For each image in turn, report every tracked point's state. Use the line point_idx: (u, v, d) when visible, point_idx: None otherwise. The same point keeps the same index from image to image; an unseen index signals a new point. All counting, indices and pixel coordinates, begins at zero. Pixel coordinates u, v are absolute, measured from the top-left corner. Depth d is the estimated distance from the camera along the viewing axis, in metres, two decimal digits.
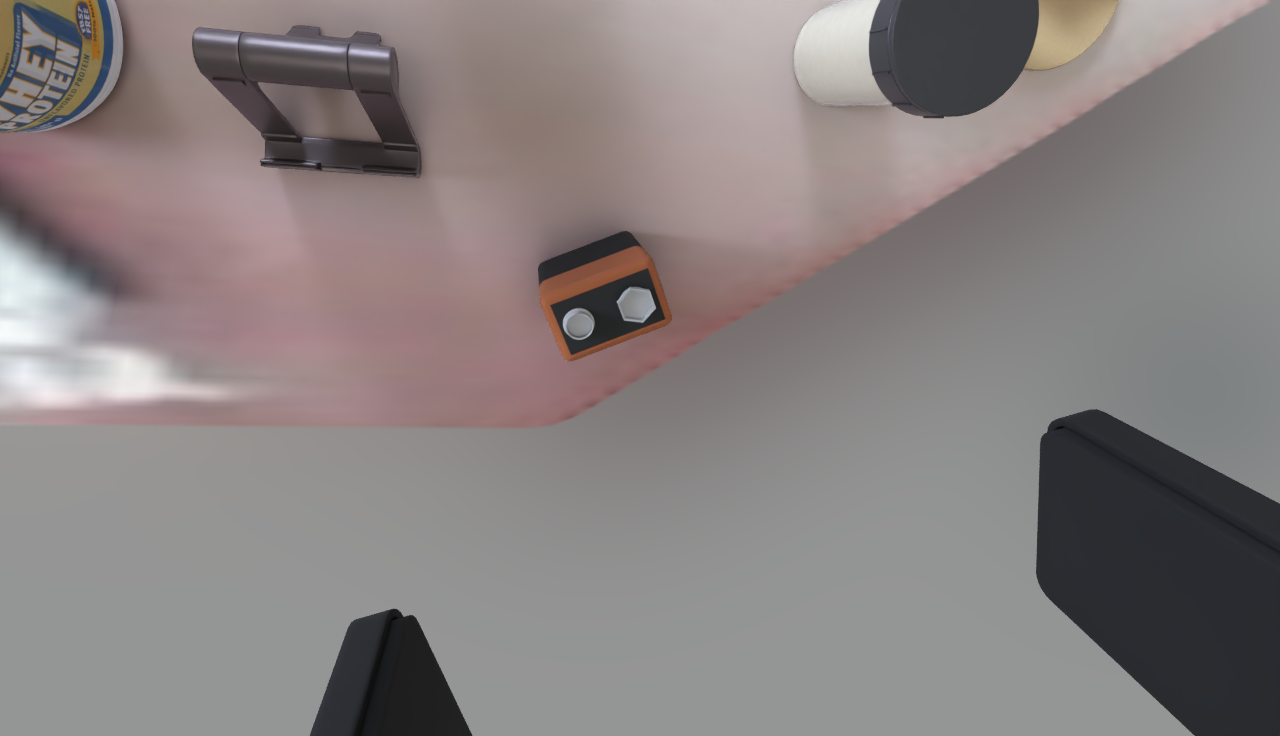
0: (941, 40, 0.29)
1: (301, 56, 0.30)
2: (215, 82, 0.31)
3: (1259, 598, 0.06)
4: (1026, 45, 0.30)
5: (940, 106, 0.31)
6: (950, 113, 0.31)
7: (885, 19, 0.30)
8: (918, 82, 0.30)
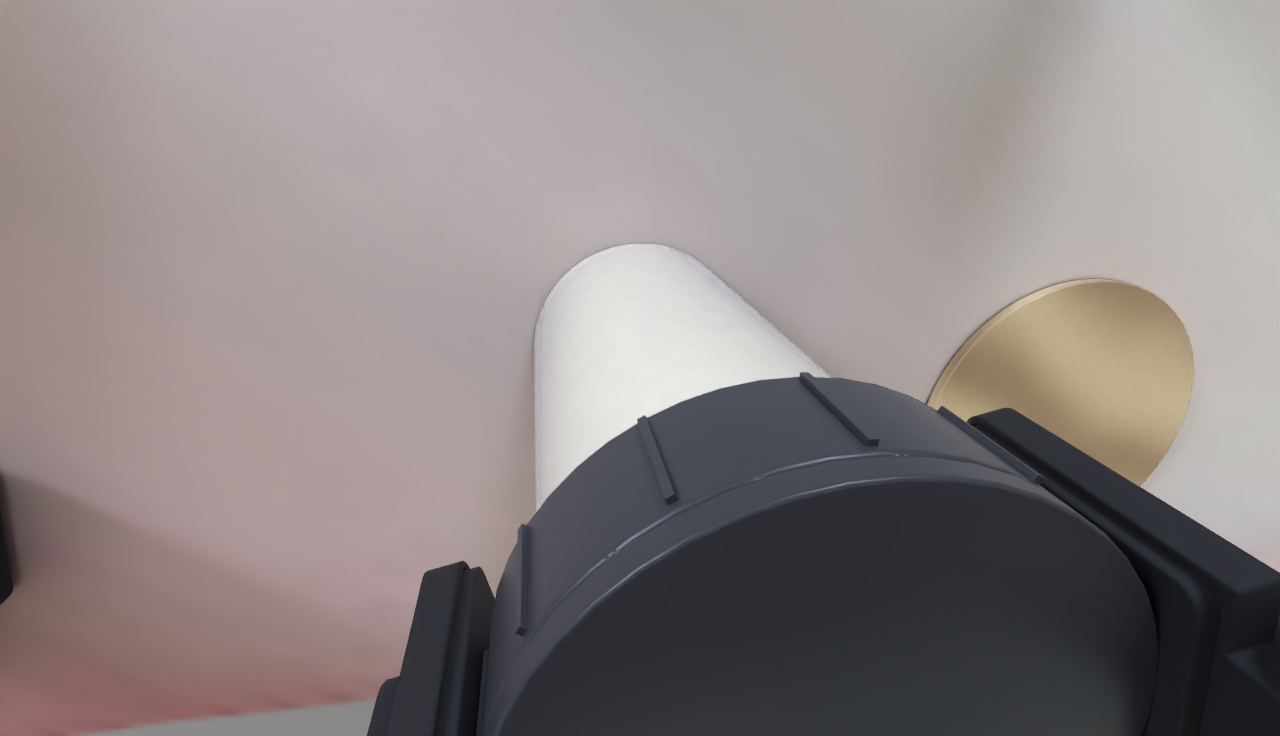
0: None
1: None
2: None
3: None
4: None
5: None
6: None
7: (548, 574, 0.06)
8: None
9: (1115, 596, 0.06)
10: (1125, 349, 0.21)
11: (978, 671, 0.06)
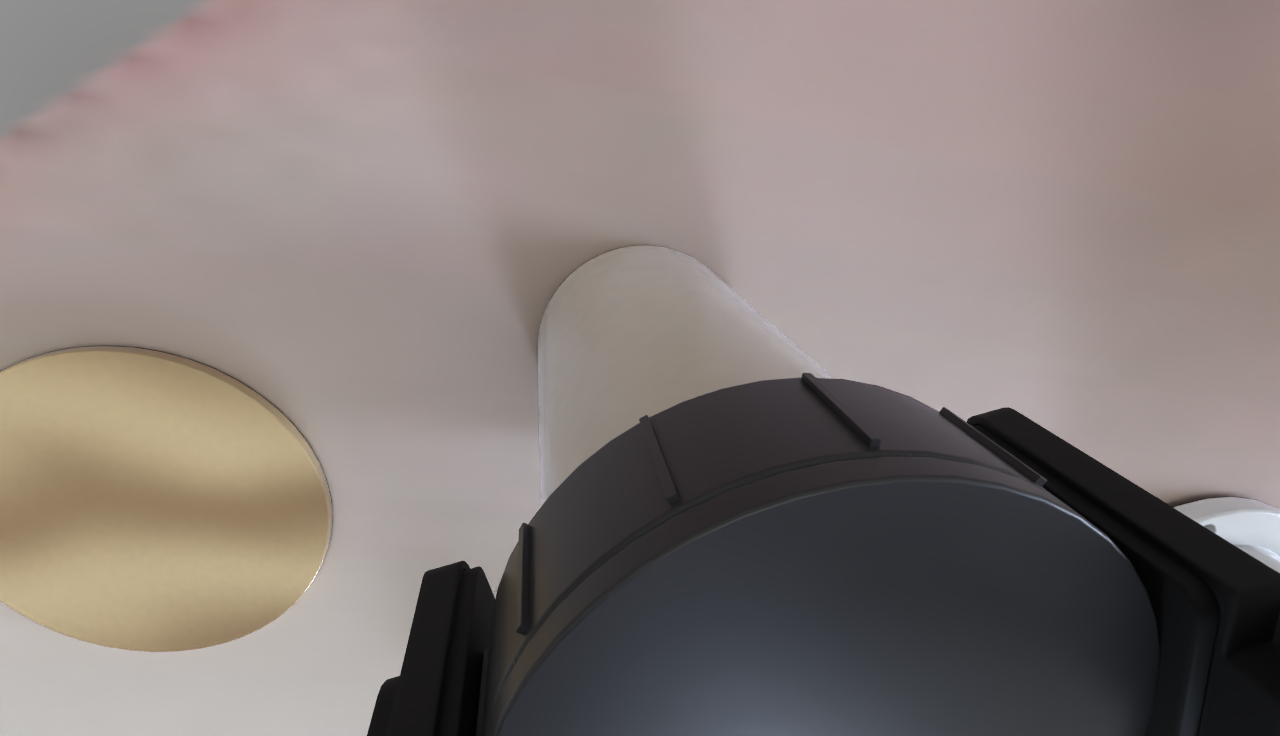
0: None
1: None
2: None
3: None
4: None
5: None
6: None
7: (549, 573, 0.06)
8: None
9: (1117, 598, 0.06)
10: (163, 604, 0.19)
11: (979, 673, 0.06)
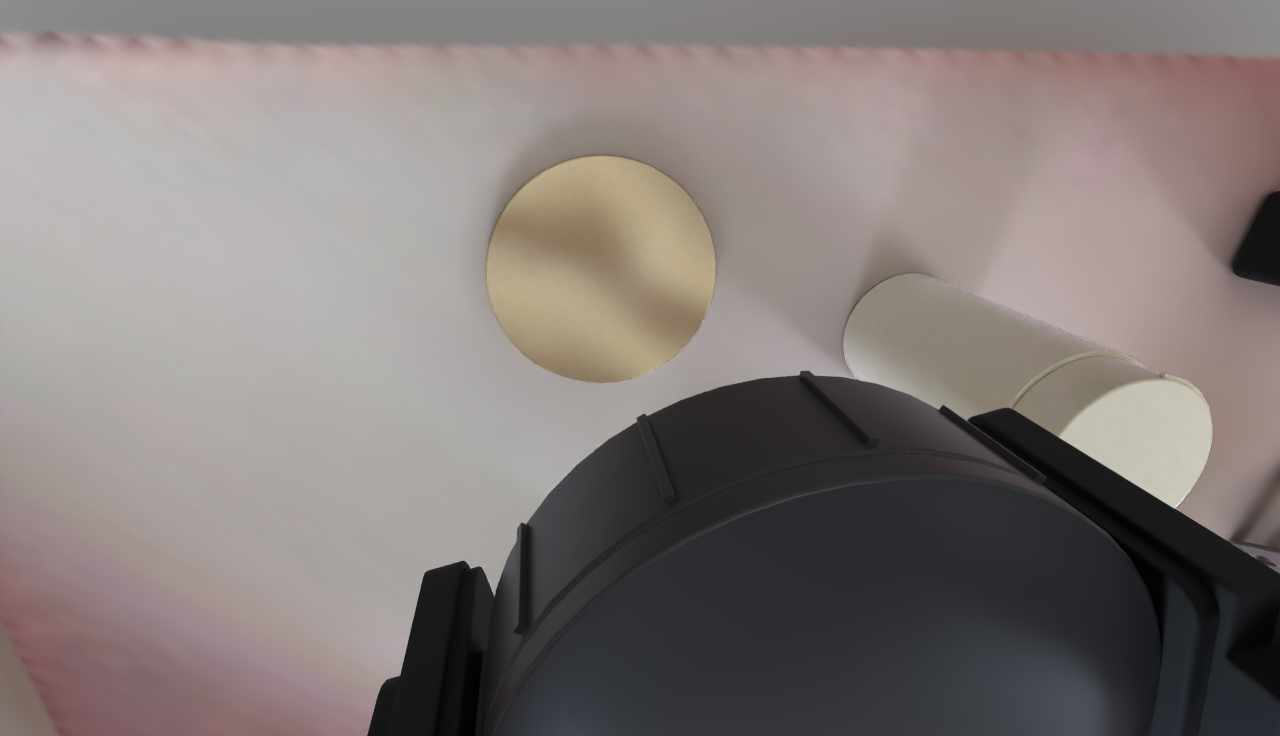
0: None
1: None
2: None
3: None
4: None
5: None
6: None
7: (547, 573, 0.06)
8: None
9: (1117, 596, 0.06)
10: (567, 336, 0.29)
11: (979, 671, 0.06)
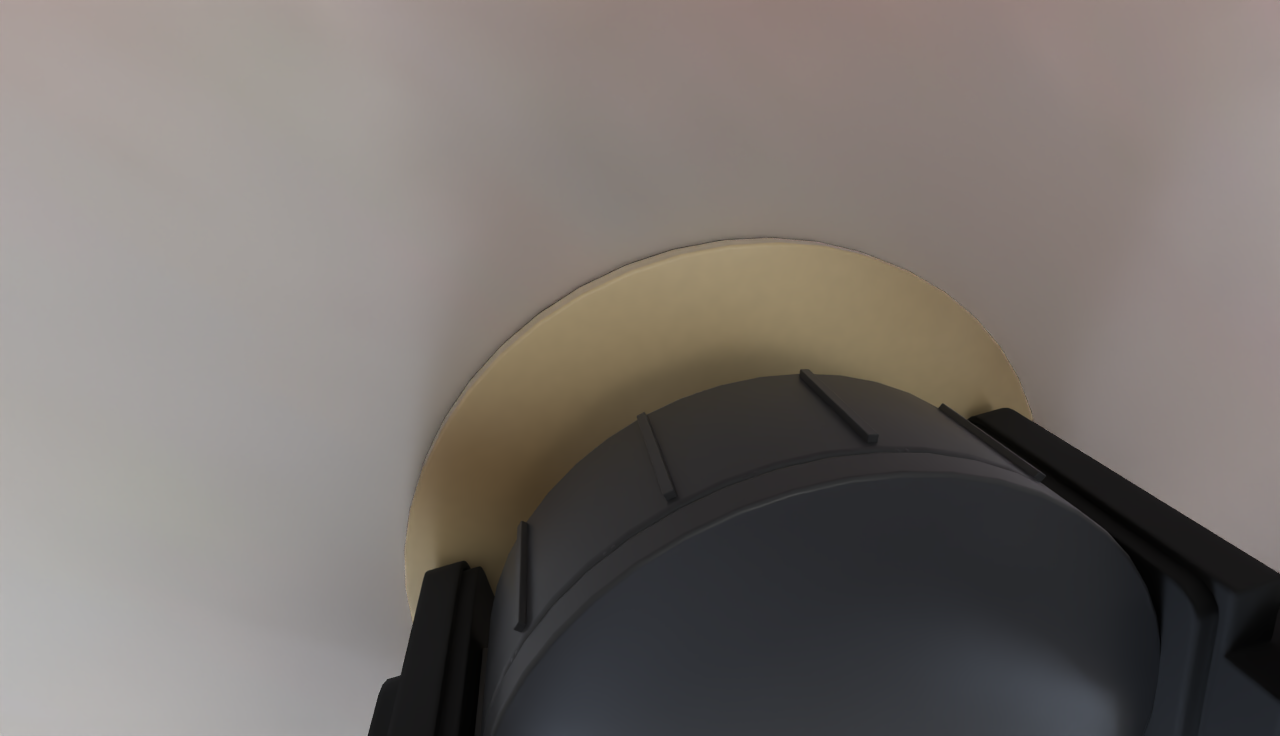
0: None
1: None
2: None
3: None
4: None
5: None
6: None
7: (547, 571, 0.06)
8: None
9: (1116, 594, 0.06)
10: None
11: (978, 669, 0.06)
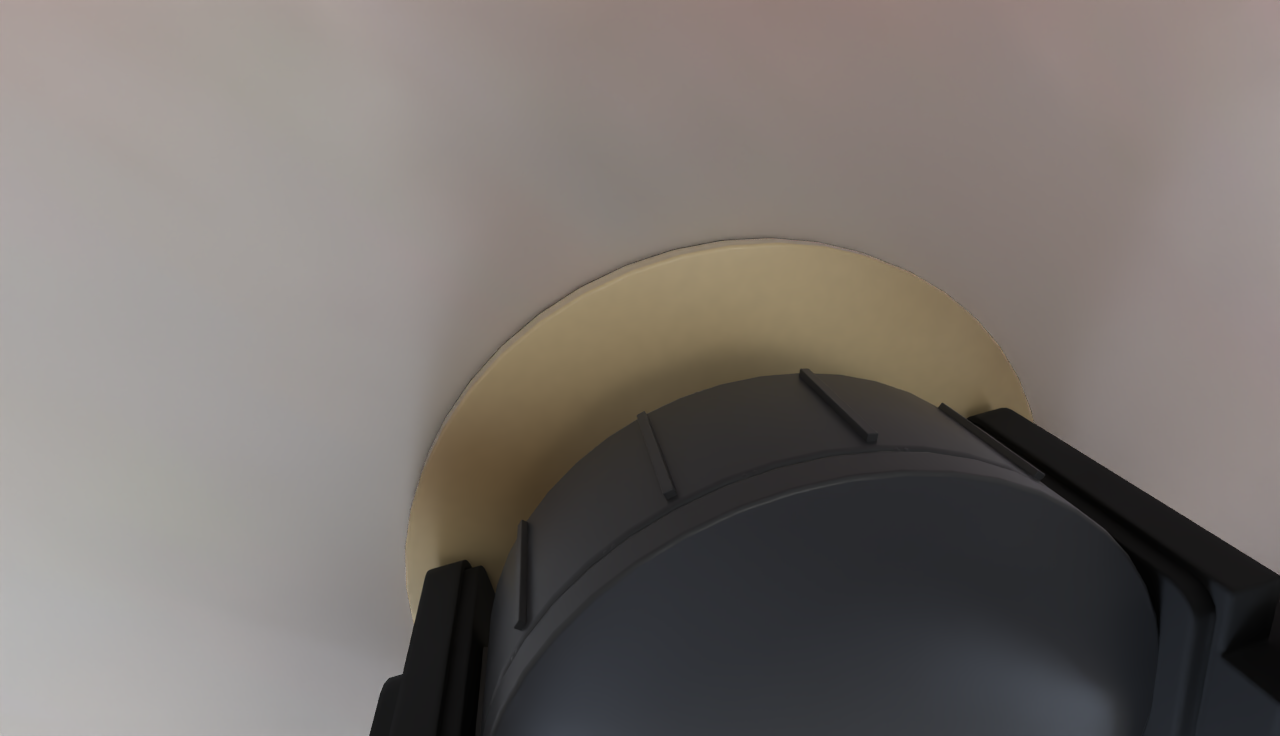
0: None
1: None
2: None
3: None
4: None
5: None
6: None
7: (547, 569, 0.06)
8: None
9: (1115, 593, 0.06)
10: None
11: (978, 668, 0.06)
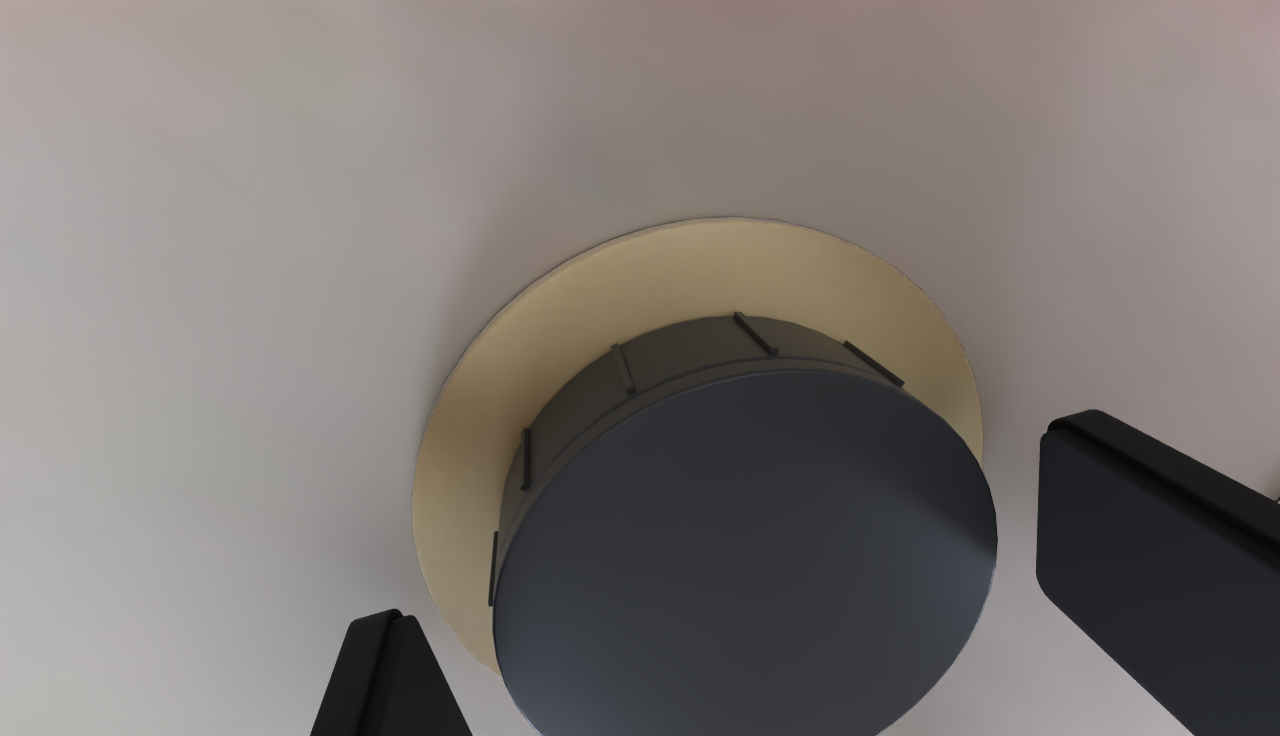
0: (672, 604, 0.09)
1: None
2: None
3: (1259, 598, 0.06)
4: (901, 696, 0.10)
5: None
6: None
7: (543, 451, 0.09)
8: (557, 682, 0.09)
9: (955, 467, 0.09)
10: None
11: (857, 523, 0.09)
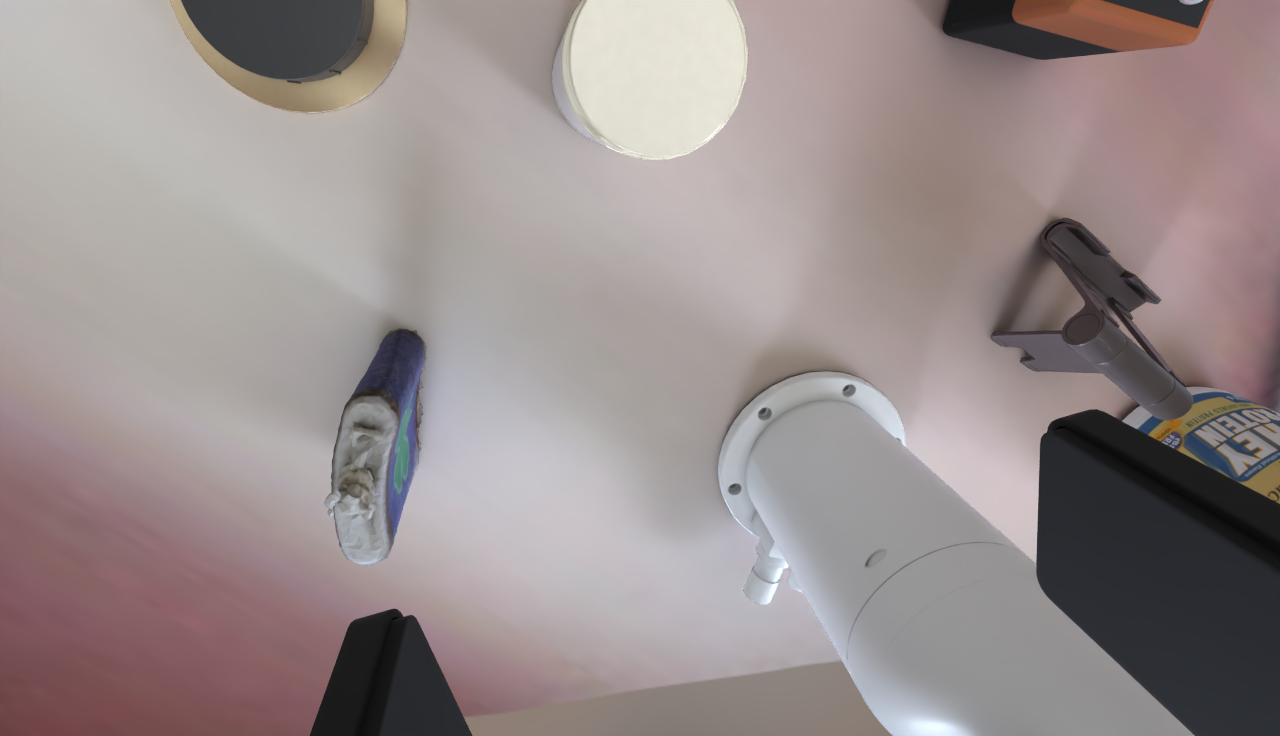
0: None
1: (1138, 374, 0.34)
2: (1184, 383, 0.36)
3: (1259, 598, 0.06)
4: (341, 40, 0.28)
5: (226, 47, 0.27)
6: (238, 62, 0.28)
7: None
8: (201, 5, 0.27)
9: None
10: None
11: None
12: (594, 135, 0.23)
